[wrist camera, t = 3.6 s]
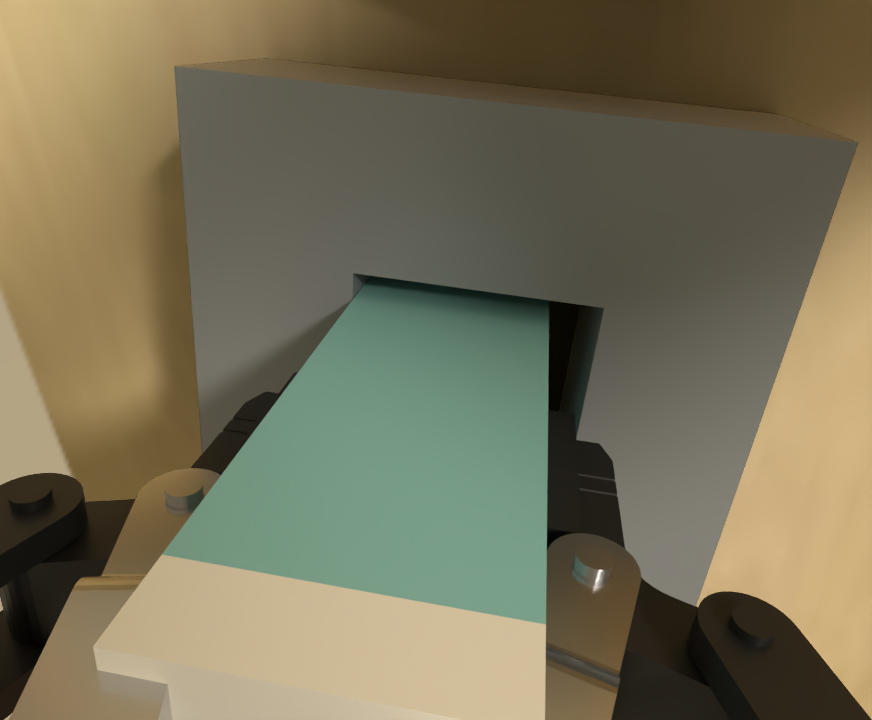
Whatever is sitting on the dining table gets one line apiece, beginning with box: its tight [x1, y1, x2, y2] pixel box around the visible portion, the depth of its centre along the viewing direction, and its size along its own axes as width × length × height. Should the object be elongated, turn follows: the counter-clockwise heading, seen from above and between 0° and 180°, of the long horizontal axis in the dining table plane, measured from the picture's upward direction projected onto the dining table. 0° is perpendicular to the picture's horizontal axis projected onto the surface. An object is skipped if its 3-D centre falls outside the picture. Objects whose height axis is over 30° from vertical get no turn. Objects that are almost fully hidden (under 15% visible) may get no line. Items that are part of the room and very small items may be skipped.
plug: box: [93, 276, 549, 720], centre depth 13 cm, size 4×4×13 cm
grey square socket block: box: [174, 58, 858, 606], centre depth 17 cm, size 12×12×4 cm
